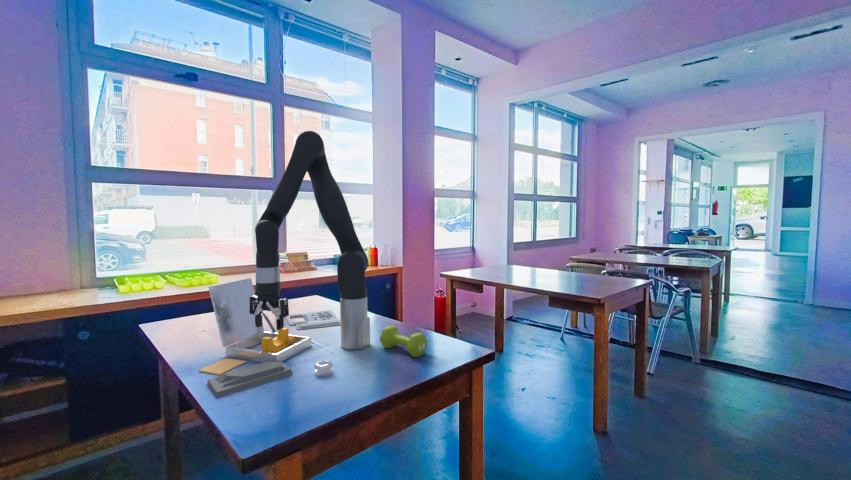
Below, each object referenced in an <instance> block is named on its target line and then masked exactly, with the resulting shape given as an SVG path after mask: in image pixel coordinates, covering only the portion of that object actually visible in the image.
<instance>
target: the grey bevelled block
mask: <svg viewBox="0 0 851 480" xmlns="http://www.w3.org/2000/svg"><path fill="white" fill-rule="evenodd" d="M291 375H293V372H292V369H291V368H290V367H289V365H287V364H286V363H284V362H283V361H282V362H281V361H279V360H278V361H275V362H259V363H257V364H253V365H250V366H246V367H242V368H239V369H233V370H230V371H228V372H226V373H224V374H221V375H218V376H216V377H212V378H208V379H207V381H206V382H207V384H206V385H207V386H208V388H209V389H210V390H211V391H212V392H213V394H214V395H215V396H216V398H221V397H224V396H227V395H230V394H233V393H236V392H237V393H238V392H240V391H243V390H247V389H250V388H252V387H255V386H256V387H257V386H260V385H263V384H266V383H269V382H273V381H276V380H279V379H283V378H286V377H289V376H291Z"/></svg>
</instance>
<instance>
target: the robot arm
mask: <svg viewBox="0 0 851 480" xmlns="http://www.w3.org/2000/svg"><path fill="white" fill-rule="evenodd" d="M325 149H326V148H325V143H324V140H323V138H322V137H321V136H320V134H319V133H318V132H317V131H313V130H306V131H302V132H301V133H300V134H299V135H298V136H297V137H296V139H295V144H294V146H293V150H292V154H291V156H290V159H289V161H288V164H287V165H286V168H285V171H284V173H283V175H282V176H281V178H280V180H279V181H278V184H277V185H276V187H275V190H274V191H273V193H272V195H271V197H270V199H269V201H268V203H267V205H266V208H265V210H264V212H263V213H262V215H261V216H260V218H259V219H258V221H257V223H256V225H255V229H254V233H255V244H256V252H255V254H256V255H255V267H256V268H255V296H252V297H250V308H249V313H250V314H253V315H254V316H255V325H256V327H261V326H262V324H263V314H262V312H263V311H264V312H266V311H267V312H271V313H272V314H273V315H274V316H275V318H276V323H275V324H276V330H277V331H278V330H281V329H282V328H285V327H284V326H285V323H284V320H285V319H284V318H286V316H289V315H290V310H289V309H290V308H289V299H288V298H287V297H286V298H285V297H284V298H280V294H281V272H280V271H281V270H280V257H279V255H280V254H279V240H280V238H279V237H280V235H279V234H280V232H279V230H280V227H281V225H282V223H283V222H284V220H285V218H286V217H287V216H288V214H289V213H290V210H291V209H292V207H293V205H294V203H295V201H296V199H297V197H298V194H299V191H300V189H301V186H302V184H303V180H304V178H305V176H306V174H307V173H308V176H309V178H310V181H311V182H310V183H311V186H312V191H313V194H314V199H315V202H316V205H317V207H318V210H319V213H320V217H321V218H322V220H323V222H324V224H325V226H326V228H328V230H329V231H330V232H331V234H332V235H333V236H334V239H335V240H336V242H337V244H338V248H339V251H340V254H341V255H340V256H339V258H338V260H337V266H336V267H337V268H336V270H337V274H336V275H337V289H338V291H339V300H340V301H339V306H340V307H339V311H340V313H339V316H340V319H339V321H340V322H341V325H340V346H341V348H342V349H345V350H350V351H351V350H353V351H354V350H363V349H365V348H366V347H367V346H369V345H371V319H370V317H369V316H368V288H367V287H366V280H365V279H366V275H365V274H366V273H365V272H366V271H367V269H368V267H369V258H368V256H367V253H366V252H365V250H364V248H363V246H362V243H361V242H360V240H359V237H358V234H357V232H356V230H355V225H354V223H353V220H352V217H351V214H350V211H349V209H348V205H347V202H346V199H345V197H344V195H343V193H342V191H341V189H340V187H339V185H338V183H337V181H336V179H335V178H334V176H333V174H332V172H331V169H330V165H329V163H328V159H327V155H326V151H325ZM253 307H254V310H253Z"/></svg>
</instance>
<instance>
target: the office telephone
mask: <svg viewBox="0 0 851 480" xmlns="http://www.w3.org/2000/svg"><path fill="white" fill-rule="evenodd" d="M285 318H286V321H287V324H288V325H289V327H293V326H295V328H296V330H297V331H303V330H313V329H322V328H323V329H324V328H328V327H329V328H330V327H337V326H340V327H341V321H340V319H339V318H338V317H337V316H336V315H335V313H334V312H333V310H330V309H329V310H320V311H313V312H306V313H299V314H291V315H290V314H289V316H286V317H285ZM296 318H303V319H304V320H303V321H295V322H293V321H292V319H296Z"/></svg>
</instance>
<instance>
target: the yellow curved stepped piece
mask: <svg viewBox="0 0 851 480" xmlns="http://www.w3.org/2000/svg"><path fill="white" fill-rule="evenodd" d="M277 331H278V336H277V337H275V338H273V339H272V337H264V338H262V342H261V351H262V352H269V353H278V352H280V351H282V350H284V349H286V348H288V347H290V346H289V345H290V344H289V335H290V334H289V328H288V327H283V328H282V329H281V330H277ZM288 334H289V335H288Z"/></svg>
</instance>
